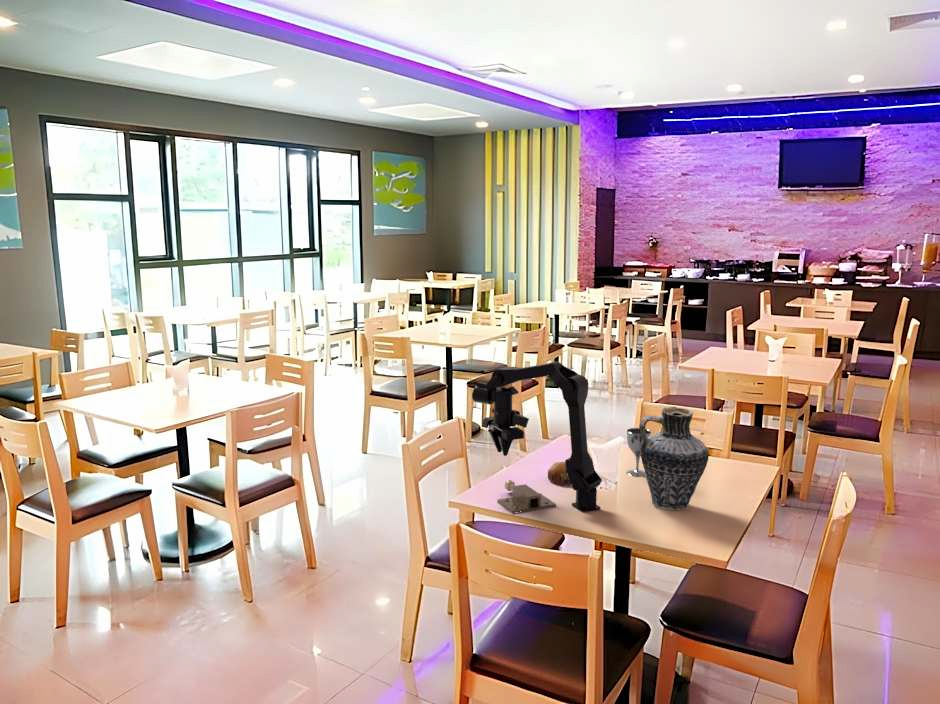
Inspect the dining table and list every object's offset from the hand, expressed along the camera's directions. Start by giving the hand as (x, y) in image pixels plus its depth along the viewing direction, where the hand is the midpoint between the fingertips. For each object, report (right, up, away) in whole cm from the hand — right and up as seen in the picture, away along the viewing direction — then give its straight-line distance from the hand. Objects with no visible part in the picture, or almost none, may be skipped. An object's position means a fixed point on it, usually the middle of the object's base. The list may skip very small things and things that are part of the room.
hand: (502, 453), depth 244 cm
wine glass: (+47, -9, +16) cm, 50 cm away
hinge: (+7, -14, -13) cm, 20 cm away
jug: (+50, -14, -14) cm, 54 cm away
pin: (+5, -13, -9) cm, 16 cm away
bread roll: (+20, -10, +8) cm, 24 cm away
